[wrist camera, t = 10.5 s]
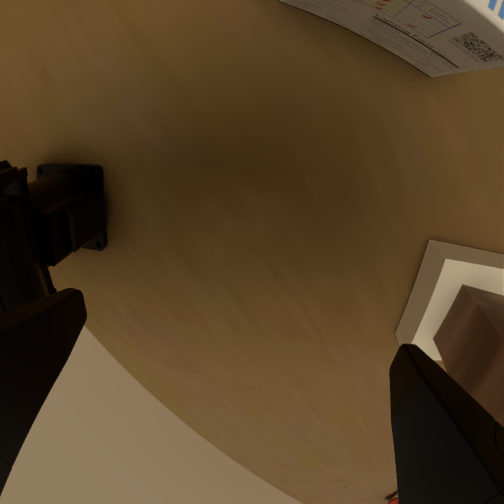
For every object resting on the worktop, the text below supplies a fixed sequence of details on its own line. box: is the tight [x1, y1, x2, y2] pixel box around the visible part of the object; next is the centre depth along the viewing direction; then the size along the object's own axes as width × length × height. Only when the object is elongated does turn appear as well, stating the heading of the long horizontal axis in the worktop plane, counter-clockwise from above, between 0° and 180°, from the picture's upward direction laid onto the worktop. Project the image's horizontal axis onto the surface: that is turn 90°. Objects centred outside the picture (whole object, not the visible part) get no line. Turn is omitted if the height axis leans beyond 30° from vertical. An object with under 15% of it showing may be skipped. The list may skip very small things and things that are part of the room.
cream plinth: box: [395, 239, 504, 360], centre depth 19 cm, size 8×8×3 cm
